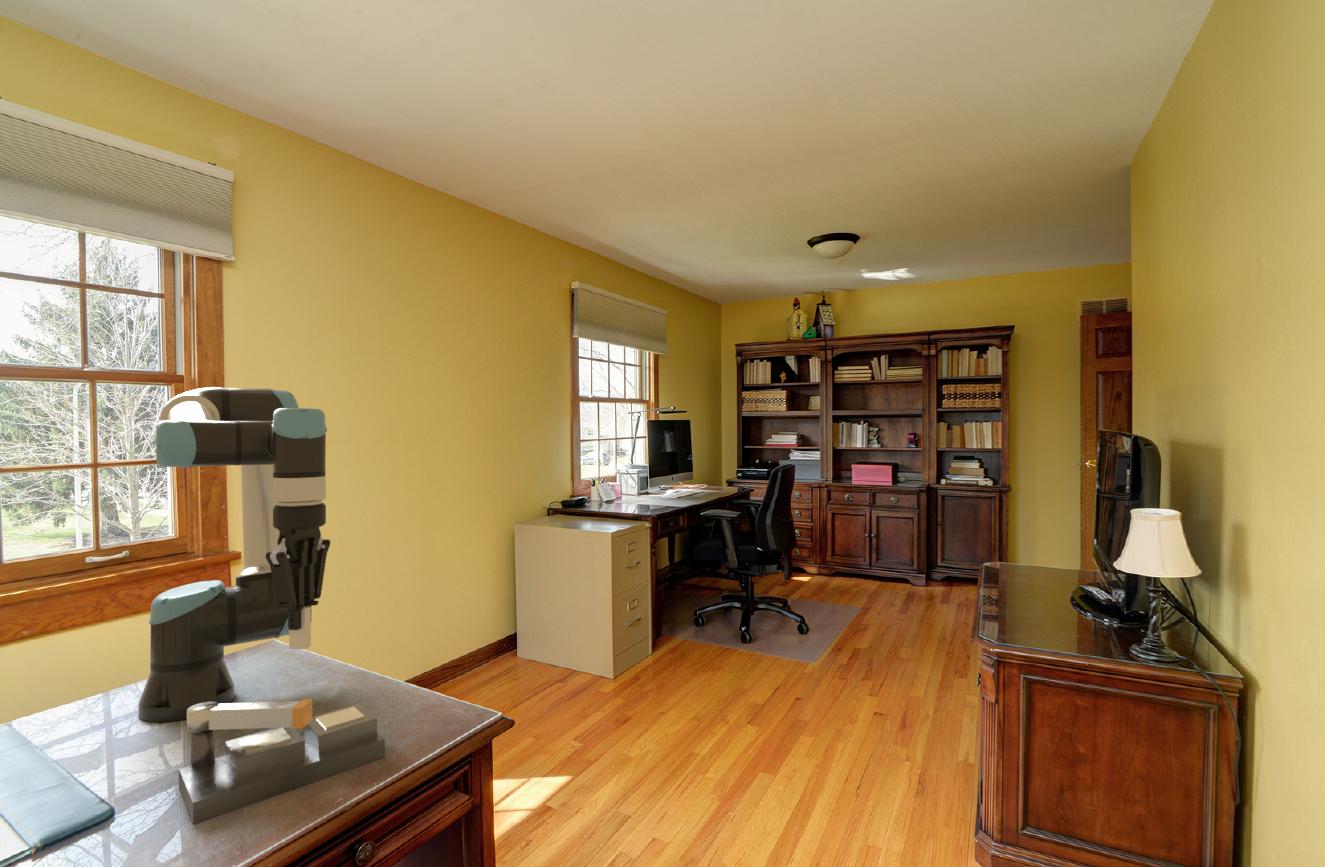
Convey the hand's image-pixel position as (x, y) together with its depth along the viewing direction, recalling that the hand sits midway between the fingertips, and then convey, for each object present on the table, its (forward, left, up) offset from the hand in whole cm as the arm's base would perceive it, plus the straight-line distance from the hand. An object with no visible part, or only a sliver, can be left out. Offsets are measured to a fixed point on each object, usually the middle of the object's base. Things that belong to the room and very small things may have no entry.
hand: (300, 647), depth 104 cm
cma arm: (0, -7, -11) cm, 13 cm away
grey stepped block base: (+2, -2, -19) cm, 19 cm away
